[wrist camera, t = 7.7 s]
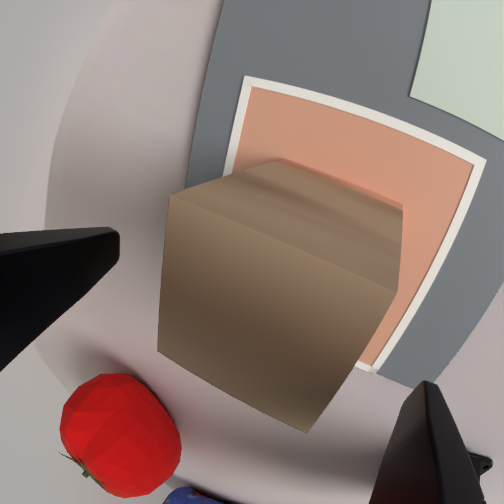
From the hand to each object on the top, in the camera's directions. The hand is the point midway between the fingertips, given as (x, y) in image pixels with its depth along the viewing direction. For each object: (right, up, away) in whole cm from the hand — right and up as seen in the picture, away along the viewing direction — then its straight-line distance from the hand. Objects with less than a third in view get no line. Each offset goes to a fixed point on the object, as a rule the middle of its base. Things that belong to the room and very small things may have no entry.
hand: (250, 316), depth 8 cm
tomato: (-9, -13, +20) cm, 25 cm away
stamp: (+3, +2, +5) cm, 7 cm away
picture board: (+5, +7, +3) cm, 9 cm away
